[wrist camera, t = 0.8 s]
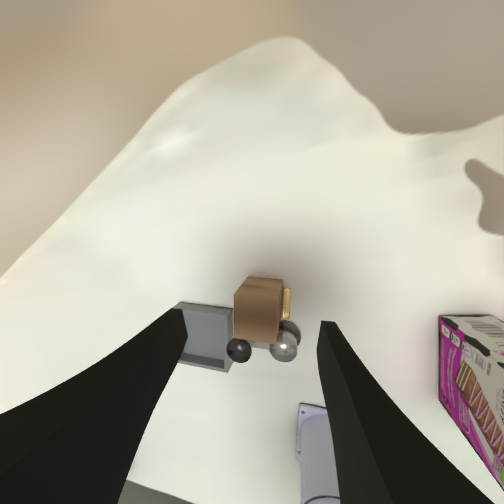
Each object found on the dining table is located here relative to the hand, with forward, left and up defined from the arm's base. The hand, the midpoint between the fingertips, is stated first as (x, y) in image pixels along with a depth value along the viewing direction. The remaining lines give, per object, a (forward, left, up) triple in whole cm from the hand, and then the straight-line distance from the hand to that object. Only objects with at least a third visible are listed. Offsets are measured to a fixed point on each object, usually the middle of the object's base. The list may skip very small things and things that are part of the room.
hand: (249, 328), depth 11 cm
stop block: (-5, +2, -16) cm, 16 cm away
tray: (-12, +10, -15) cm, 22 cm away
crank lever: (-10, +1, -15) cm, 18 cm away
